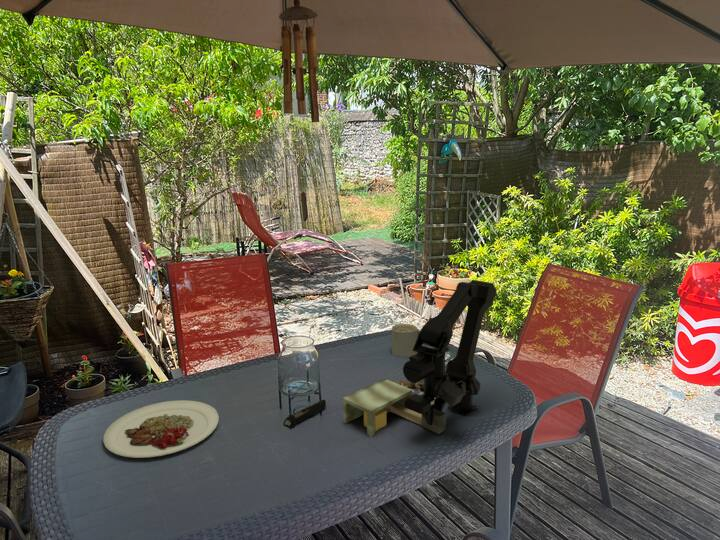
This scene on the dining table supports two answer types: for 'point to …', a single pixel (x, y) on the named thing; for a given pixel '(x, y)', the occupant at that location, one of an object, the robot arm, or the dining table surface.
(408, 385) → the frog figurine
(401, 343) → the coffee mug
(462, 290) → the robot arm
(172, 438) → the plated food
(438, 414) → the crook tool
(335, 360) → the dining table surface
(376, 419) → the ochre cube
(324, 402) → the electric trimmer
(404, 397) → the sage cubby
